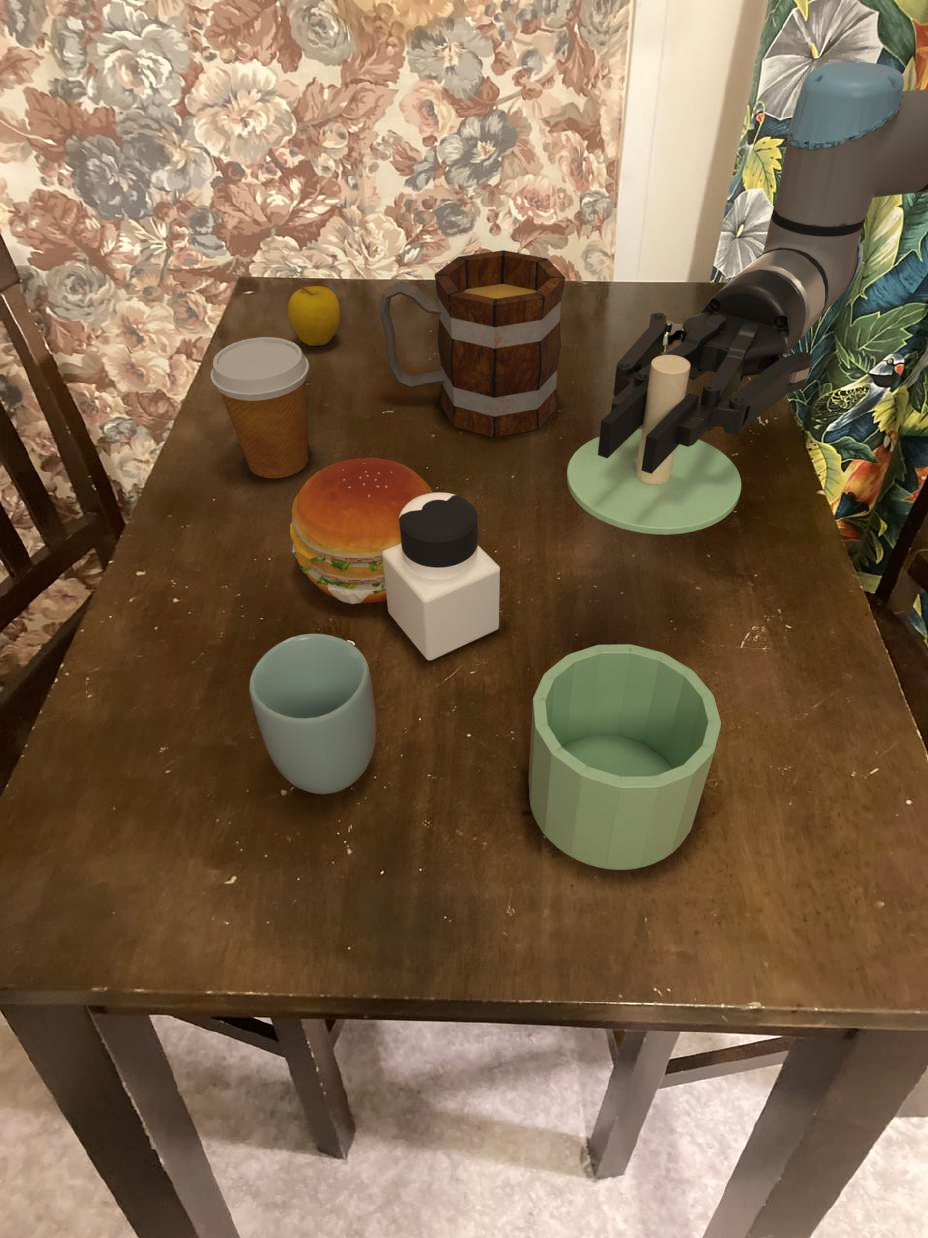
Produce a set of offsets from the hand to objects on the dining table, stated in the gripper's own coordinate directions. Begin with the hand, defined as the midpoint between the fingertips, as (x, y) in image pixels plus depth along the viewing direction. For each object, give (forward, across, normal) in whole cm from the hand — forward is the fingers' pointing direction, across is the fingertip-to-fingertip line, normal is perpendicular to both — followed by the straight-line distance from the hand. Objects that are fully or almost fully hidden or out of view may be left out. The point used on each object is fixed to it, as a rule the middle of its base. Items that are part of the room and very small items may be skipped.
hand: (626, 447), depth 58 cm
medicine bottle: (+4, +13, -20) cm, 24 cm away
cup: (+21, +11, -20) cm, 31 cm away
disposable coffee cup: (-5, +42, -20) cm, 47 cm away
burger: (+3, +23, -20) cm, 30 cm away
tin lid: (-5, 0, -6) cm, 8 cm away
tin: (+12, -8, -20) cm, 24 cm away
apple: (-27, +56, -20) cm, 66 cm away
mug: (-26, +31, -20) cm, 45 cm away
